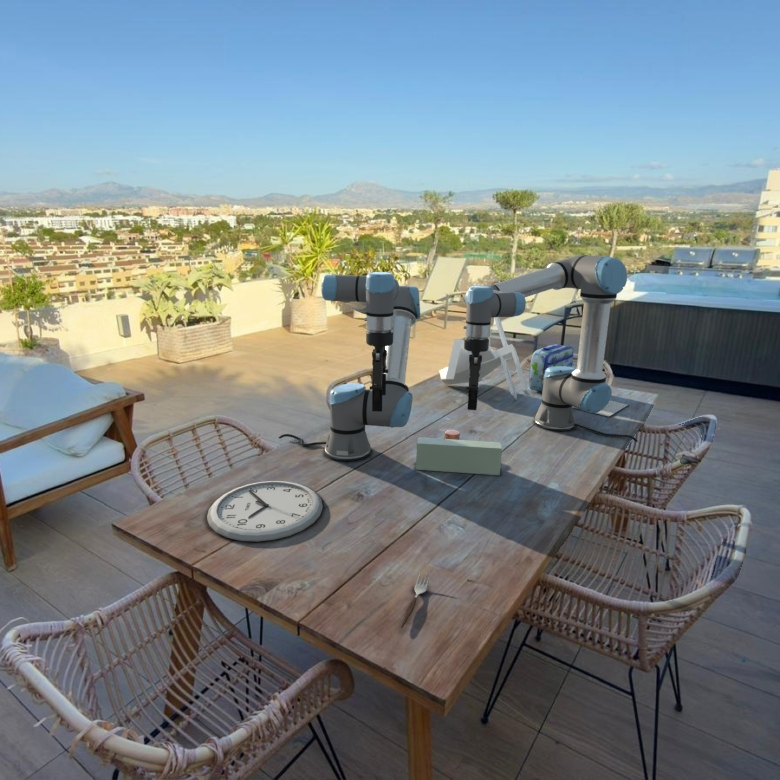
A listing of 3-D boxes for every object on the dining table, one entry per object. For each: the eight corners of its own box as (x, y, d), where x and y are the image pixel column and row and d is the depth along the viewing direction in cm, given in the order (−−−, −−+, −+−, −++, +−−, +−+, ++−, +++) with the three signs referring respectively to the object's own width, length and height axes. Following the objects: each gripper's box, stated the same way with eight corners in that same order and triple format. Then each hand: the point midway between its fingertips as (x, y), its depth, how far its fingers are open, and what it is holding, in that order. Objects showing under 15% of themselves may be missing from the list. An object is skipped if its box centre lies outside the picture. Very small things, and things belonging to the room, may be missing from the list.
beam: (498, 468, 167) (500, 442, 164) (499, 475, 162) (502, 448, 159) (417, 462, 169) (418, 437, 167) (415, 469, 165) (416, 443, 162)
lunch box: (545, 397, 238) (550, 352, 231) (524, 391, 245) (529, 348, 239) (572, 386, 255) (578, 344, 249) (552, 381, 262) (557, 340, 256)
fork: (394, 628, 99) (394, 619, 99) (419, 578, 113) (419, 570, 113) (407, 632, 98) (408, 623, 98) (430, 581, 113) (431, 573, 112)
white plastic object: (461, 429, 252) (437, 405, 227) (444, 352, 274) (420, 323, 250) (535, 404, 240) (518, 377, 215) (510, 326, 262) (492, 293, 237)
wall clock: (320, 533, 126) (192, 537, 124) (320, 539, 127) (193, 543, 124) (324, 476, 155) (220, 479, 152) (324, 481, 155) (221, 484, 153)
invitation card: (608, 416, 214) (573, 407, 224) (608, 416, 214) (573, 408, 224) (628, 404, 229) (594, 396, 238) (628, 405, 229) (594, 397, 238)
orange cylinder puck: (458, 445, 183) (459, 430, 181) (458, 451, 178) (459, 435, 177) (444, 445, 184) (445, 429, 182) (444, 450, 179) (444, 434, 177)
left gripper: (370, 320, 156) (370, 388, 163) (360, 340, 132) (361, 418, 139) (395, 321, 155) (394, 389, 162) (390, 341, 132) (389, 419, 139)
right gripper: (465, 329, 173) (461, 390, 179) (464, 345, 150) (459, 414, 156) (488, 330, 172) (483, 392, 178) (490, 346, 148) (484, 416, 155)
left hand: (379, 402), depth 151 cm, fingers open, 13 cm apart
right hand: (471, 402), depth 167 cm, fingers open, 13 cm apart
